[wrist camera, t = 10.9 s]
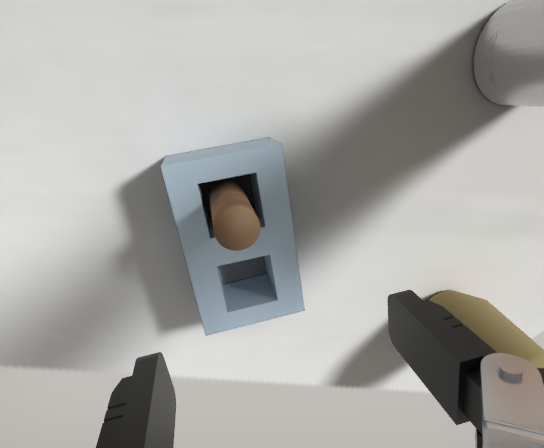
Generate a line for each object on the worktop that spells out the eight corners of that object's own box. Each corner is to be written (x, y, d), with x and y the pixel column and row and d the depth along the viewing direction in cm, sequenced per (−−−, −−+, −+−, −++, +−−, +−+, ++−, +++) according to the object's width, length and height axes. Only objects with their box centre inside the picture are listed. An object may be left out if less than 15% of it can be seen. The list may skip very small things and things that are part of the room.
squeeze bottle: (481, 312, 44) (658, 444, 27) (427, 351, 44) (569, 505, 27) (456, 267, 40) (640, 385, 24) (399, 309, 41) (540, 455, 24)
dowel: (238, 171, 32) (256, 202, 23) (244, 203, 33) (263, 245, 24) (204, 178, 31) (209, 212, 22) (211, 210, 32) (219, 255, 23)
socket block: (268, 137, 31) (281, 144, 27) (290, 283, 37) (304, 310, 32) (165, 156, 30) (160, 166, 25) (204, 304, 35) (205, 335, 31)
